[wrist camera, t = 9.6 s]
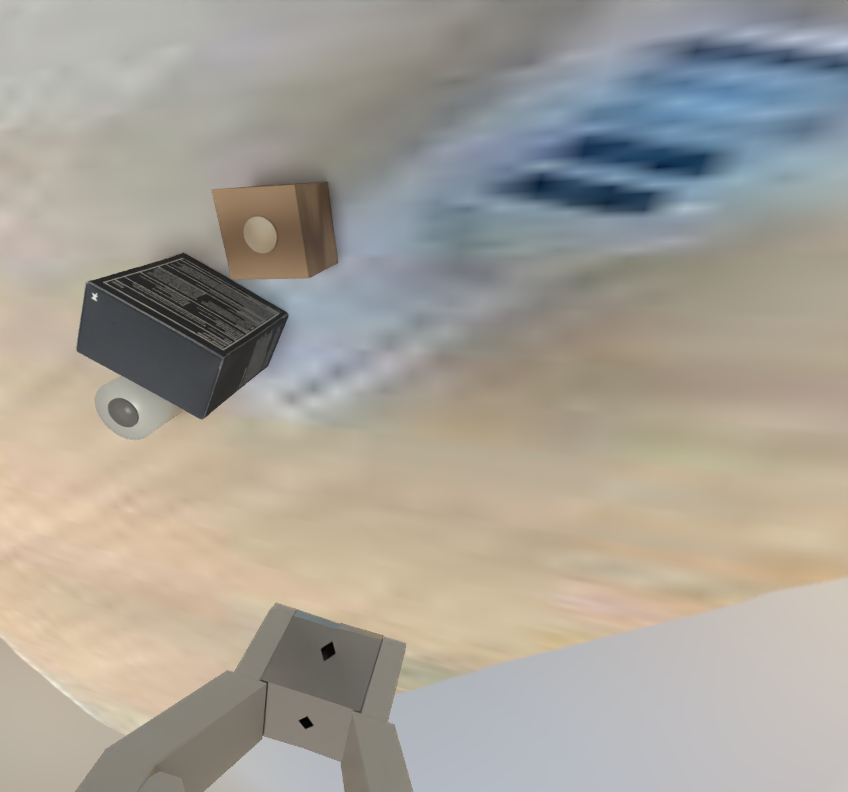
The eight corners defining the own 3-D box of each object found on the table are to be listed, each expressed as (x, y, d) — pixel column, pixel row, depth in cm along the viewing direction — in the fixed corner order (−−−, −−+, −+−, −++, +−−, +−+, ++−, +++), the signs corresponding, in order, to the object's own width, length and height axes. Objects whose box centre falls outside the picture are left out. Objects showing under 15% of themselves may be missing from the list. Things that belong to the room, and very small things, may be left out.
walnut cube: (255, 186, 38) (209, 190, 32) (328, 181, 37) (293, 185, 31) (270, 264, 40) (230, 280, 35) (338, 262, 39) (307, 278, 34)
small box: (165, 313, 44) (69, 353, 35) (182, 249, 41) (81, 275, 32) (267, 371, 45) (200, 425, 35) (291, 312, 42) (224, 355, 32)
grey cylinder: (140, 351, 46) (89, 376, 41) (194, 366, 46) (149, 393, 41) (145, 401, 49) (97, 431, 44) (195, 416, 49) (153, 448, 43)
